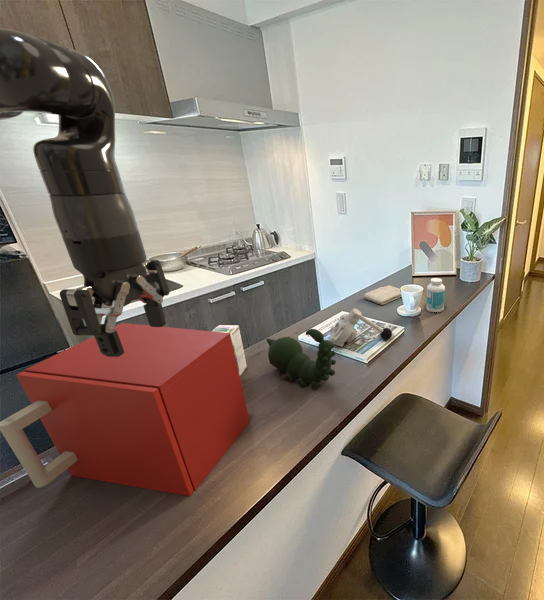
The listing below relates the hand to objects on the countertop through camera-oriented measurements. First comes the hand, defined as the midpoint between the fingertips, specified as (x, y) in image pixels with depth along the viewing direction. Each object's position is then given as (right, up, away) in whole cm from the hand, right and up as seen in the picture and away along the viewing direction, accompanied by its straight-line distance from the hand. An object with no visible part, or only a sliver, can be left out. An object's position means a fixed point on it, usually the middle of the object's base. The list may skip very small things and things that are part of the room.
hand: (138, 339), depth 48 cm
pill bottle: (+54, +2, +90) cm, 105 cm away
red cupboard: (-12, -26, +24) cm, 37 cm away
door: (-14, -31, +12) cm, 36 cm away
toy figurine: (+10, -17, +46) cm, 50 cm away
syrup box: (-11, -16, +48) cm, 52 cm away
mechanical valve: (+25, -9, +66) cm, 71 cm away
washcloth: (+32, +7, +102) cm, 108 cm away
